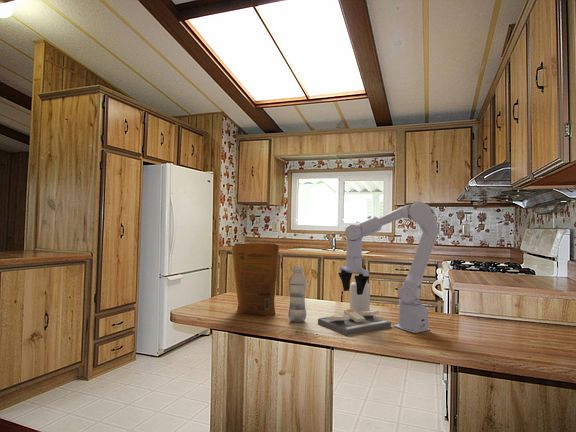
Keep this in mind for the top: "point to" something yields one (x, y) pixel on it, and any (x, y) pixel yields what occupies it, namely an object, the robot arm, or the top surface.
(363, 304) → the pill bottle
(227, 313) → the top surface
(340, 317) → the paddle
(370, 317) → the panel
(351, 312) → the paddle middle
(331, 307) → the top surface
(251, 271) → the pancake mix bag
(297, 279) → the plastic bottle
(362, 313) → the paddle
